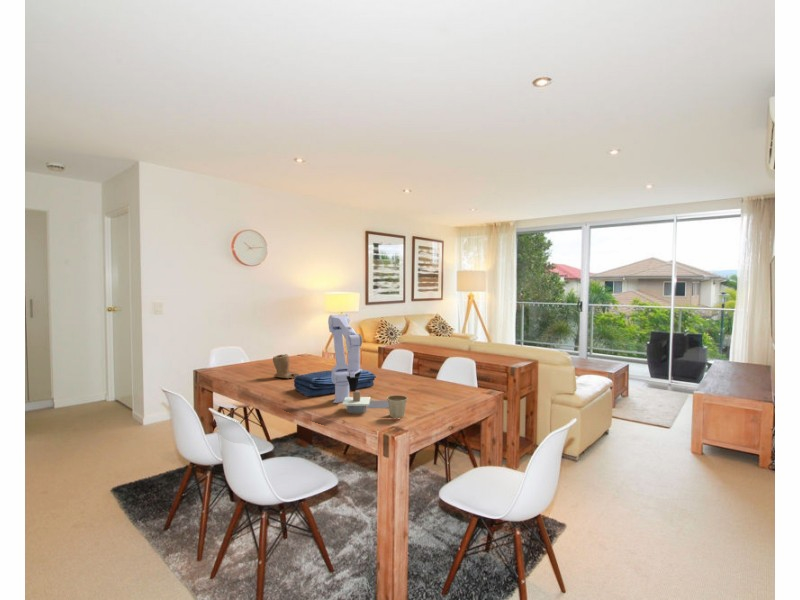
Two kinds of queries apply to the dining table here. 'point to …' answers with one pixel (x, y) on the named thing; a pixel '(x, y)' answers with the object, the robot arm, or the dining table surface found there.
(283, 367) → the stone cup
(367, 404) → the lid
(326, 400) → the dining table surface
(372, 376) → the towel
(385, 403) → the mat
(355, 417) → the dining table surface
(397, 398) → the flower pot
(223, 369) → the dining table surface
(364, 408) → the bowl
